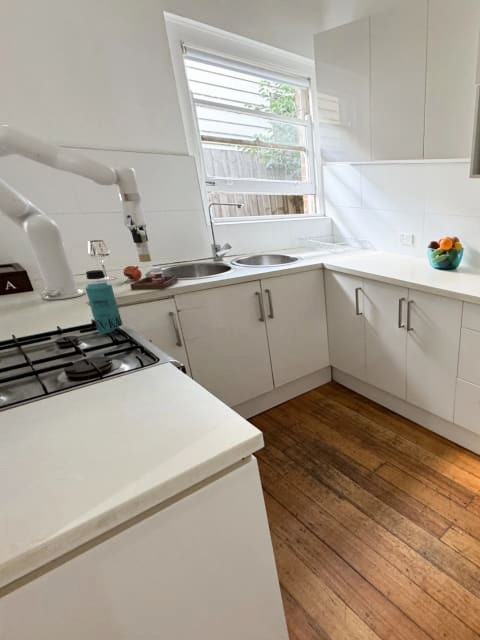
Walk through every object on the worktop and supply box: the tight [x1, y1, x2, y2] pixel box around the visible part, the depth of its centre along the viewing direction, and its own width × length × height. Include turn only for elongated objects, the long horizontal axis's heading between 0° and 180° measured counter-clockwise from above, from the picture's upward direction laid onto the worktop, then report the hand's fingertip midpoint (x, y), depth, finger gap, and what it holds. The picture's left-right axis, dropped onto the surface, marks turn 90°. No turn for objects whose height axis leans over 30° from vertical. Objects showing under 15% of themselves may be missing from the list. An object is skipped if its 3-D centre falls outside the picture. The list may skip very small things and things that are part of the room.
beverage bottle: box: [84, 269, 124, 334], centre depth 114 cm, size 6×7×20 cm
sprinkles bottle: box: [135, 230, 152, 263], centre depth 170 cm, size 5×5×13 cm
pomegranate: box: [122, 265, 143, 283], centre depth 181 cm, size 7×7×10 cm
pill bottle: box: [149, 266, 165, 284], centre depth 170 cm, size 5×5×8 cm
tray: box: [129, 276, 179, 291], centre depth 174 cm, size 15×13×2 cm
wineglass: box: [87, 239, 116, 281], centre depth 181 cm, size 8×8×18 cm
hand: (141, 241), depth 169 cm, fingers closed on sprinkles bottle, 4 cm apart
